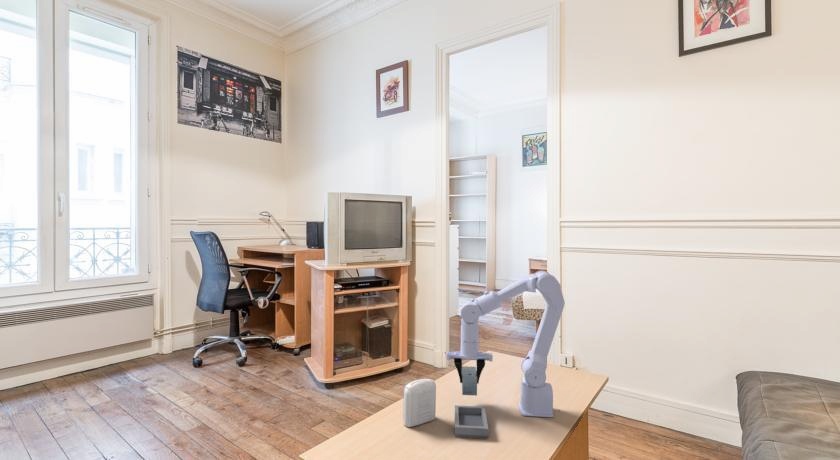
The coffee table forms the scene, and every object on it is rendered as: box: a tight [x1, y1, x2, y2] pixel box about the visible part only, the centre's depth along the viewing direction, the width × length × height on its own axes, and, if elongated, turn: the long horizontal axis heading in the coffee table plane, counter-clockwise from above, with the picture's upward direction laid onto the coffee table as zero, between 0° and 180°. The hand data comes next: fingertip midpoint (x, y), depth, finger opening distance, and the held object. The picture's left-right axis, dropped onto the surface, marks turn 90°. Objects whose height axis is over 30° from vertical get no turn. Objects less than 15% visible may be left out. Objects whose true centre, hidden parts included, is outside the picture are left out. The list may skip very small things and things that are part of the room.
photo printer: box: [402, 378, 437, 428], centre depth 114 cm, size 10×4×12 cm, turn 123°
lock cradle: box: [454, 404, 489, 440], centre depth 112 cm, size 9×12×3 cm
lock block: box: [461, 365, 478, 397], centre depth 124 cm, size 4×8×6 cm, turn 176°
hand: (469, 382), depth 124 cm, fingers closed on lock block, 4 cm apart
